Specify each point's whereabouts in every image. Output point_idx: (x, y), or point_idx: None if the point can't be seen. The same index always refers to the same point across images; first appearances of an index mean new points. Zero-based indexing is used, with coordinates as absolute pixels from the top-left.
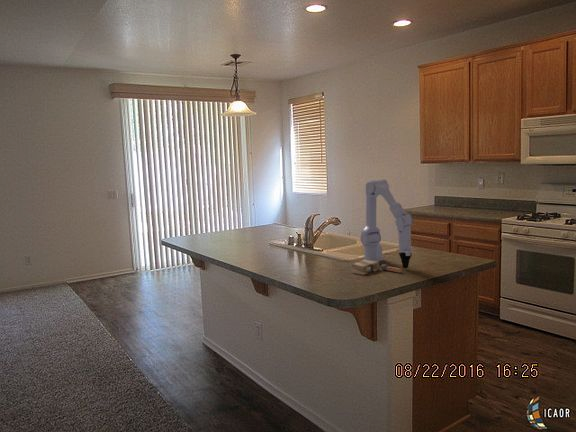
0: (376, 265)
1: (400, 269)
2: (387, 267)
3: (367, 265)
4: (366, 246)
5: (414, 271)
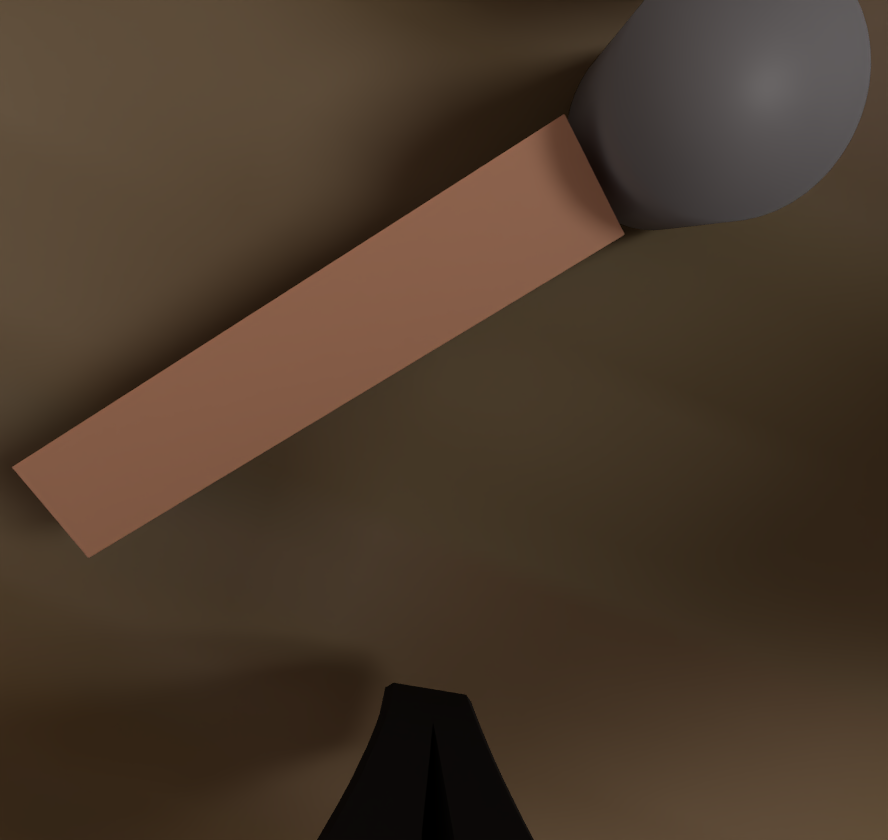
0: None
1: (45, 491)
2: (496, 158)
3: None
4: None
5: (245, 810)
